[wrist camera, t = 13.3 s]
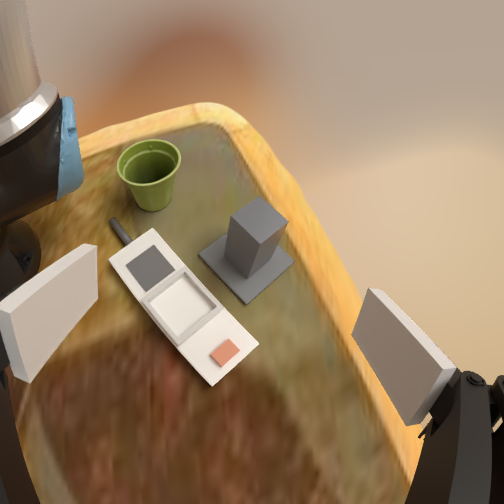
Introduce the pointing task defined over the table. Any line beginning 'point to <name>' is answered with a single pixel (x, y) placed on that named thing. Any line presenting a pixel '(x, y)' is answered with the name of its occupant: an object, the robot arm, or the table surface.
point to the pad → (235, 279)
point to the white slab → (181, 305)
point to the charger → (253, 236)
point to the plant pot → (150, 172)
